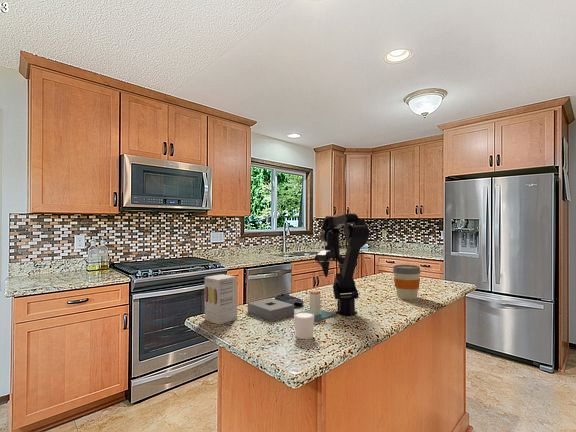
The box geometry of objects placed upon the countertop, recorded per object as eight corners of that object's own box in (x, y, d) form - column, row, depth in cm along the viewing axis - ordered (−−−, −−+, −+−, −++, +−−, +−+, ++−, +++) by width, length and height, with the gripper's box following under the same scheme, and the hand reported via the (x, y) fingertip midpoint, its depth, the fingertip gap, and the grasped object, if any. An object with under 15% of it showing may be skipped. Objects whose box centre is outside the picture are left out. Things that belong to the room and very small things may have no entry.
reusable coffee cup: (423, 296, 156) (422, 265, 157) (418, 301, 146) (417, 269, 146) (397, 293, 163) (396, 264, 163) (390, 298, 152) (389, 267, 153)
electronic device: (272, 305, 149) (290, 308, 137) (273, 293, 150) (290, 295, 138) (289, 305, 154) (307, 308, 142) (289, 293, 155) (307, 295, 143)
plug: (320, 313, 128) (320, 291, 128) (315, 315, 126) (314, 292, 126) (315, 312, 130) (314, 290, 130) (310, 313, 128) (309, 291, 128)
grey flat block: (294, 314, 129) (294, 304, 129) (270, 321, 121) (270, 310, 121) (270, 306, 141) (270, 297, 141) (247, 312, 133) (247, 302, 133)
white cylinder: (293, 332, 108) (292, 312, 108) (313, 332, 109) (312, 311, 109) (295, 340, 101) (294, 318, 101) (316, 339, 102) (316, 317, 102)
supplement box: (203, 320, 124) (203, 276, 124) (222, 314, 131) (222, 273, 131) (218, 325, 118) (218, 279, 118) (238, 319, 124) (237, 276, 125)
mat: (336, 315, 127) (336, 314, 127) (315, 321, 120) (315, 320, 120) (315, 309, 136) (315, 308, 136) (294, 314, 129) (294, 313, 129)
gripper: (305, 243, 145) (306, 277, 145) (337, 245, 131) (337, 283, 131) (322, 242, 152) (323, 274, 152) (354, 244, 138) (354, 280, 138)
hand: (333, 278), depth 143 cm, fingers open, 9 cm apart
